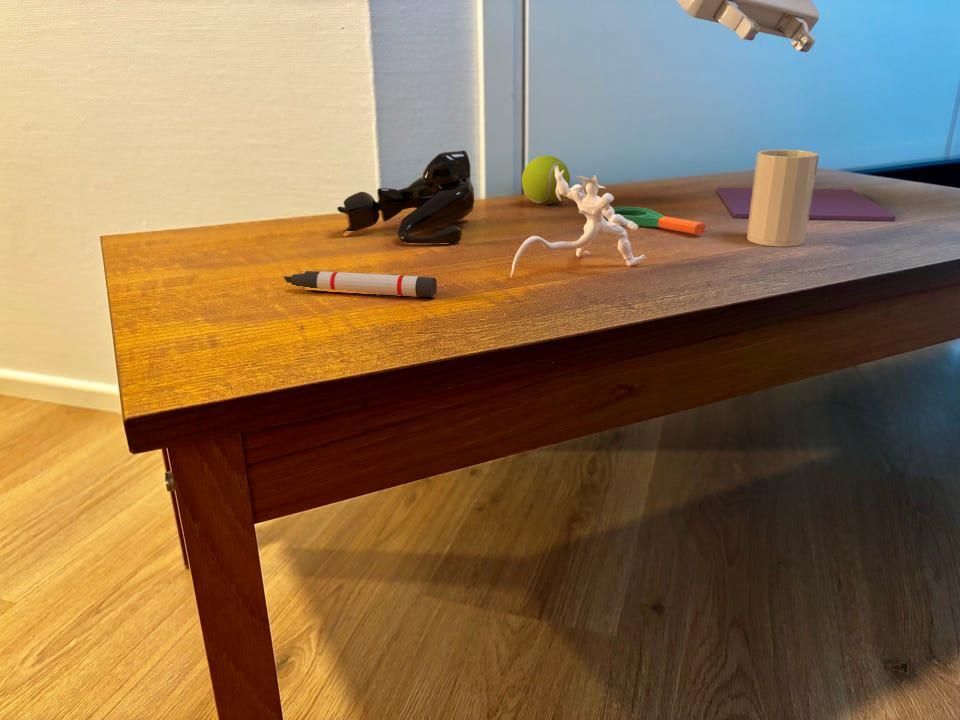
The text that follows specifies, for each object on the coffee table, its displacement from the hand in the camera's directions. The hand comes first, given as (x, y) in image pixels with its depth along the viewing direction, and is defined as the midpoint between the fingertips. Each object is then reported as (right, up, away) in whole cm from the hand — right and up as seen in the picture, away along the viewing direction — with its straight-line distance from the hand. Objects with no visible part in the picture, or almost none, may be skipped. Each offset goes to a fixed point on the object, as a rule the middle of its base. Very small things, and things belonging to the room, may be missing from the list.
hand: (780, 40), depth 85 cm
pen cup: (0, -23, +3) cm, 23 cm away
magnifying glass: (-12, -20, +10) cm, 25 cm away
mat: (+11, -14, +21) cm, 28 cm away
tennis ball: (-25, -14, +25) cm, 38 cm away
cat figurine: (-42, -21, +8) cm, 48 cm away
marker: (-46, -31, -14) cm, 57 cm away
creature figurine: (-24, -27, -7) cm, 37 cm away
